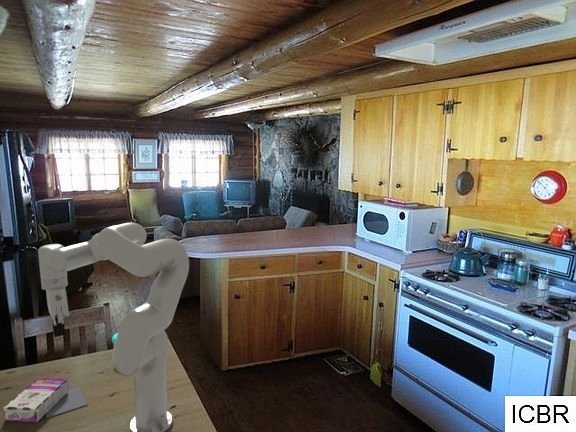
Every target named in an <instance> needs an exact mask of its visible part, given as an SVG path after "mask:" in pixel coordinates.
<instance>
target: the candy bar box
mask: <svg viewBox="0 0 576 432" xmlns="http://www.w3.org/2000/svg"><path fill="white" fill-rule="evenodd" d="M69 389H70V388H69V383H68V378H67V379H63V378H47V377H45V378H44V377H37V378H36V379H35V380H34V381H33V382H31V384H30V385H28V386H27V387H26V388H25V389H24V390H22V391H20V393H18V394H17V395H16V396H15V397H14V398H13V399H12V400H10V401H9V402H8V403H6V405H4V406H2V410H3V416H4V420H5V421H6V422H8V421H9V422H21V423H22V422H24V423H25V422H26V423H38V422H39V421H41V419H42V418H43V417H44V416H46V415H45V414H46V413H47V412H48V411H49V410H50V409H51V408H52V407H53V406H54V405H55V404H56V403H57V402H58V401H59V400H60V399H61V398H62V397H63V396H64V395H65V394H66V393H68V391H69Z"/></svg>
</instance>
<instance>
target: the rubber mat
mask: <svg viewBox="0 0 576 432" xmlns="http://www.w3.org/2000/svg"><path fill="white" fill-rule="evenodd" d="M86 406H87V407H88V403H87V400H86V398H85V396H84V394H83V391H82V389H81V387H80V386H76V387H72V388H69V391H68V393H66V394H65V395H64V396H63V397H62V398H61V399H60V400H59V401H58V402H57V403H56V404H55V405H54V406H53V407H52V408H51V409H50V410H49V411H48V412H47V413H46V414H45V415H44V416H45V418H46V419H50V418H52V417H55V416H59V415H62V414H65V413H69V412H71V411H75V410H77V409H81V408H83V407H86Z"/></svg>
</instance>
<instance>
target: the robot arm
mask: <svg viewBox="0 0 576 432" xmlns="http://www.w3.org/2000/svg"><path fill="white" fill-rule="evenodd" d="M146 241H147V231H146V229H145V228H144V227H143V226H142V225H141V224H139V223H136V222H125V223H121V224H117V225H116V224H115V225H112V226H108V227H105V228H103V229H102V230H101V231H100V232H98V233H96V234H94V235H93V236H92V237H91V239H90V240H87V241H84V242H79V243H75V244H71V245H68V246H64V245H63V244H59V243H51V244H45V245H42V246H40V247H39V248H38V251H37V252H38V263H39V264H38V265H39V274H40V283H41V290H45V291H46V292H45V293H46V301H47V302H46V303H47V307H48V308H47V309H48V313H49V314H50V316H51V319H52V332H53V336H54V338H57V337H60V336H61V337H62V336H65V335H66V330H65V328H66V327H65V326H66V325H65V322H64V321H65V320H64V316H65V317H69V316H70V313H69V305H68V304H69V303H68V296H67V290H66V287H67V286H68V285H69V283H68V272H69V271H73V270H76V269H78V268H82V267H85V266H89V265H91V264H95V263H98V262H100V261H108V260H109V261H110V262H112V263H113V264H116V265H117V266H118V267H120V268H122V269H124V270H125V271H127V272H128V273H130V274H131V275H134V276H137V277H141V278H142V277H143V278H145V277H149V276H152V275H154V274H156V273H158V272H159V273H158V275H157V277H156V278H155V280H154V281H153V283H152V285H151V288H150V291H149V295H148V296H147V299H146V301H144V303H143V304H141V305H138V306H137V307H135V308H133V309H131V310H129V312H128V313H126V315H125V316H124V317H123V318H122V321H121V323H120V326H119V329H118V332H117V333H118V335H117V338H116V342H115V344H113V349H112V355H111V356H112V363H113V366H114V368H115V370H116V371H117V372H118V373H120V374H121V375H122V374H123V375H128V376H129V375H132V374H133V379H132V380H133V402H134V403H133V404H134V405H133V407H134V417H133V418H132V419H131V420H130V423H129V431H130V432H166V431H168V430H169V428H171V426H172V424H173V415H172V413H170V411H168V406H167V405H168V403H167V401H168V399H167V358H168V351H169V337H168V334H167V333H166V331H165V330H166V329H167V328H168V327H169V326H170V325H171V324H172V322H173V320H174V315H175V312H176V310H177V308H178V307H177V306H178V304H179V301H180V297H181V295H182V291H183V288H184V286H185V284H186V280H187V278H188V275H189V271H190V260H189V259H190V258H189V255H188V253H187V251H186V250H187V249H186V248H185V247H184V245H183V244H182V243H181V242H180V241H178V240H176V239H174V238H162V239H158V240H155V241H152V242H151V241H150V242H148V243H145V242H146Z"/></svg>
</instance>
